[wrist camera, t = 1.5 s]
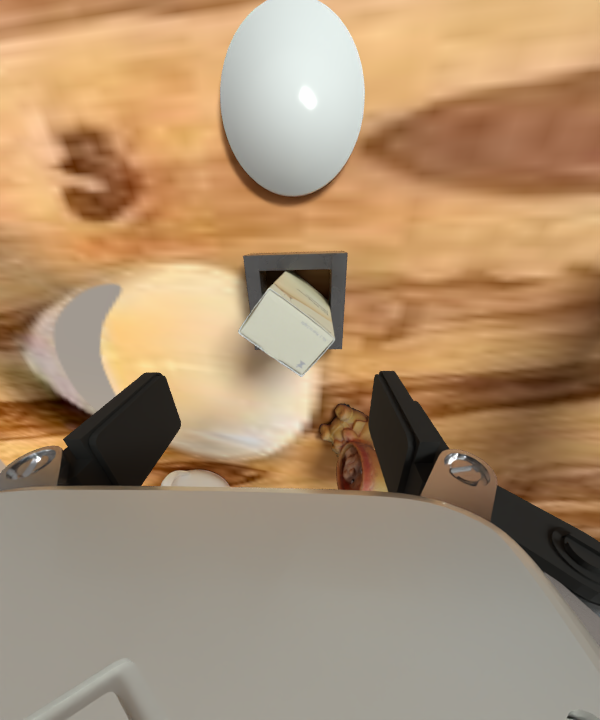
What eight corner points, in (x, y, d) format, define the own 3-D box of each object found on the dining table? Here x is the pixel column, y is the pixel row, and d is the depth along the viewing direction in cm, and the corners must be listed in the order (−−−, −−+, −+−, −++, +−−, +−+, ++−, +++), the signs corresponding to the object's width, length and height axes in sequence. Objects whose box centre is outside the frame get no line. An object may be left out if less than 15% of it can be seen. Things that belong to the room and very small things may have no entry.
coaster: (369, -1, 18) (372, -14, 17) (356, 194, 23) (358, 192, 22) (211, 12, 18) (206, 1, 17) (235, 199, 24) (232, 197, 23)
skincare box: (329, 300, 28) (341, 339, 17) (306, 328, 30) (303, 380, 19) (287, 265, 26) (269, 284, 16) (264, 296, 28) (235, 333, 17)
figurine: (341, 391, 34) (392, 498, 21) (381, 403, 36) (446, 503, 24) (310, 436, 38) (337, 547, 26) (347, 443, 41) (388, 546, 29)
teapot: (149, 449, 41) (100, 513, 32) (223, 444, 40) (196, 509, 30) (192, 521, 51) (164, 586, 42) (253, 519, 50) (239, 586, 40)
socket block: (343, 250, 25) (347, 252, 22) (338, 337, 30) (341, 349, 27) (251, 253, 26) (243, 255, 23) (260, 338, 31) (255, 349, 27)
